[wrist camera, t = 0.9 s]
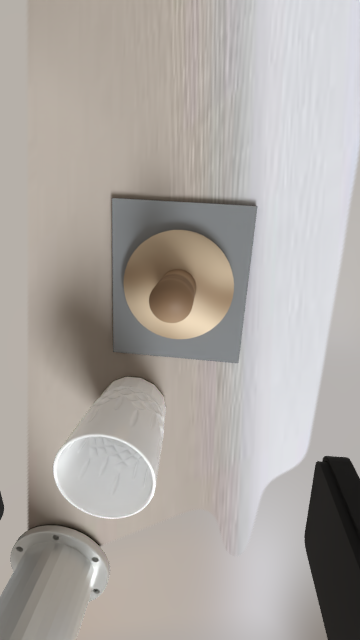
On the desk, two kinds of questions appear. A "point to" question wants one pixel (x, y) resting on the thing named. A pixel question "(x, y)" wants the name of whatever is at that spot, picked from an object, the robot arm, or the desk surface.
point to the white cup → (114, 451)
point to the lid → (178, 284)
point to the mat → (206, 219)
